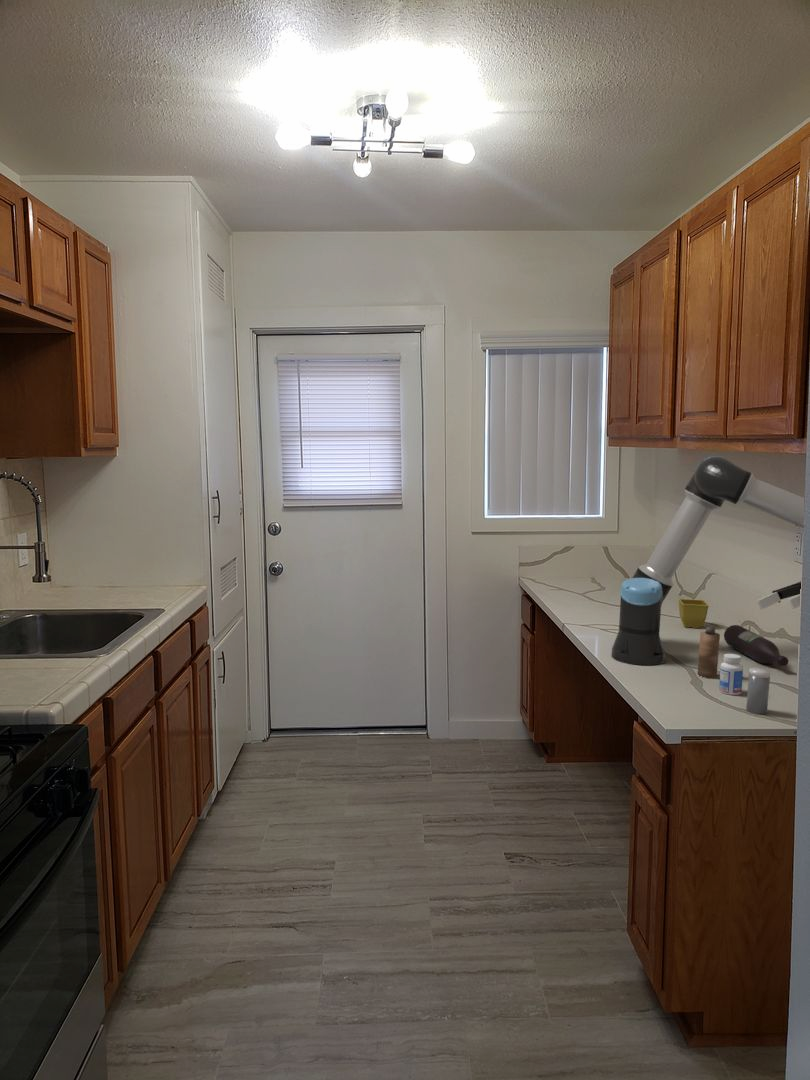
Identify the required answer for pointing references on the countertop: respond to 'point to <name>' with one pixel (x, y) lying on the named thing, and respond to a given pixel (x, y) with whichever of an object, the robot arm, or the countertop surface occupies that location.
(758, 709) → the charcoal salt shaker
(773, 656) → the wine bottle
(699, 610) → the flower pot
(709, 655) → the walnut pepper mill
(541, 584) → the countertop surface
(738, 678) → the pill bottle
